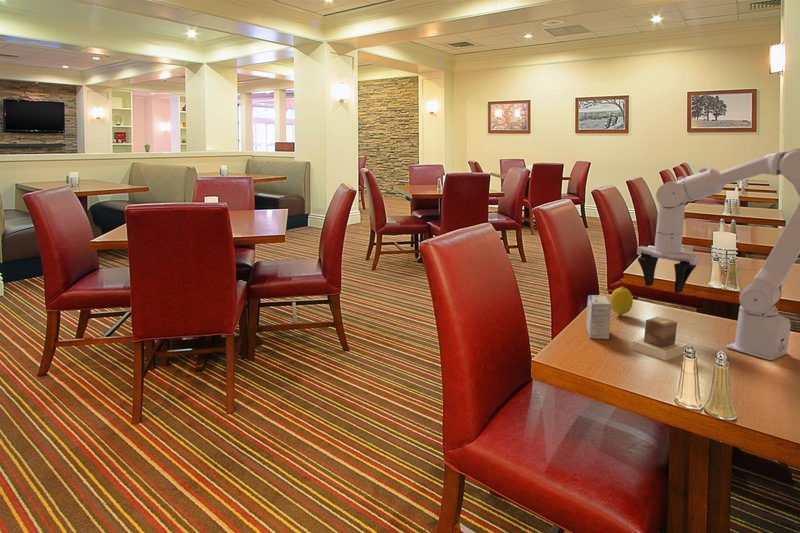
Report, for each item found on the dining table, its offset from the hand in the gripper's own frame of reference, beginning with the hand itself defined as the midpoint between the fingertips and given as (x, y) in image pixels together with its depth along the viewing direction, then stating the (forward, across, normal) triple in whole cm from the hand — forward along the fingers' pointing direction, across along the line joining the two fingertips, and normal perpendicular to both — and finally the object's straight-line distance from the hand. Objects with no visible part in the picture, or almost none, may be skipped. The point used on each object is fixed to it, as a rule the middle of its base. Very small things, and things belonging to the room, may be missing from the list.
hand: (663, 288), depth 137 cm
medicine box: (+11, -7, -15) cm, 20 cm away
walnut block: (+8, +8, -14) cm, 18 cm away
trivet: (+11, +8, -13) cm, 19 cm away
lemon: (+11, -12, +2) cm, 16 cm away
